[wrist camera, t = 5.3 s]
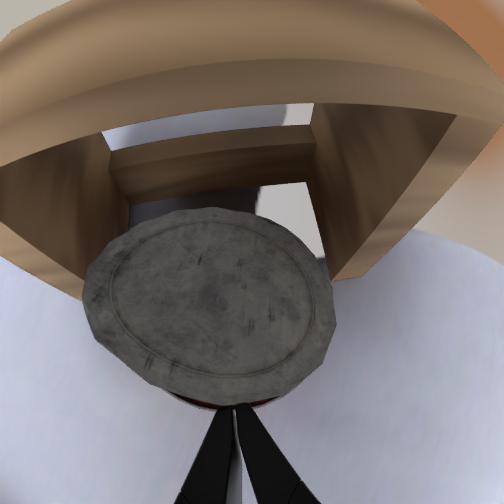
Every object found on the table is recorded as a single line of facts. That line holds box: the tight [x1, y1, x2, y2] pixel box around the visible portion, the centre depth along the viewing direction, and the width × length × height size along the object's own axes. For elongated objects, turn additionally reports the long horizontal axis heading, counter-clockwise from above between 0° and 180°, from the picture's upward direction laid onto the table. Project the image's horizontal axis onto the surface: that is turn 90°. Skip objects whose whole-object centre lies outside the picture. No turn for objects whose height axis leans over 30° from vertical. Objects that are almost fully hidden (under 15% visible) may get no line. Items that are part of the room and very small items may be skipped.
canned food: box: [81, 207, 336, 412], centre depth 14 cm, size 11×10×10 cm
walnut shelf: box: [0, 0, 504, 301], centre depth 12 cm, size 8×16×14 cm, turn 98°
